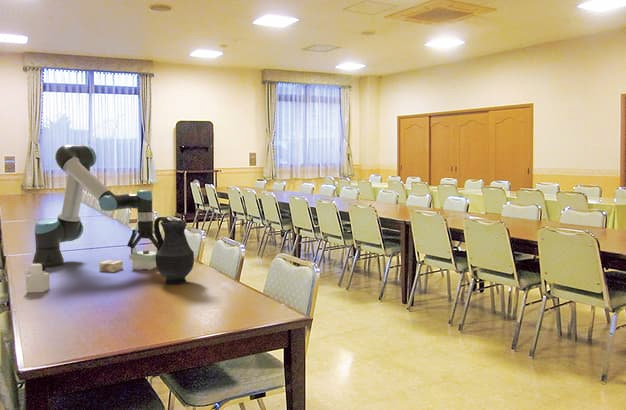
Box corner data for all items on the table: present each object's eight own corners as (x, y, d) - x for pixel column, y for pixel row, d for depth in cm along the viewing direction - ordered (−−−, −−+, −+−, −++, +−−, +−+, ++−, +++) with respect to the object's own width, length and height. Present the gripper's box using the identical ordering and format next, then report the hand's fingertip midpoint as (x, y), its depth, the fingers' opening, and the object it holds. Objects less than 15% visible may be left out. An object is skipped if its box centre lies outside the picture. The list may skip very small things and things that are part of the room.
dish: (132, 268, 298) (132, 259, 297) (142, 265, 307) (142, 255, 307) (149, 270, 295) (149, 260, 295) (159, 266, 305) (159, 256, 304)
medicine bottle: (33, 288, 254) (32, 261, 253) (50, 288, 255) (48, 261, 254) (26, 292, 247) (25, 265, 246) (43, 292, 248) (42, 264, 247)
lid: (129, 259, 297) (129, 252, 296) (142, 255, 308) (141, 248, 308) (150, 260, 293) (150, 253, 293) (162, 256, 305) (162, 249, 305)
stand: (99, 270, 292) (99, 263, 292) (109, 267, 300) (108, 260, 300) (113, 271, 290) (113, 263, 290) (122, 268, 298) (122, 261, 298)
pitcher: (175, 288, 256) (173, 220, 253) (142, 282, 267) (140, 217, 264) (202, 281, 270) (201, 217, 267) (170, 276, 281) (169, 214, 278)
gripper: (119, 220, 299) (120, 261, 300) (163, 221, 292) (164, 263, 294) (127, 218, 306) (129, 258, 308) (170, 220, 299) (171, 260, 301)
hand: (146, 261), depth 301 cm, fingers open, 13 cm apart
